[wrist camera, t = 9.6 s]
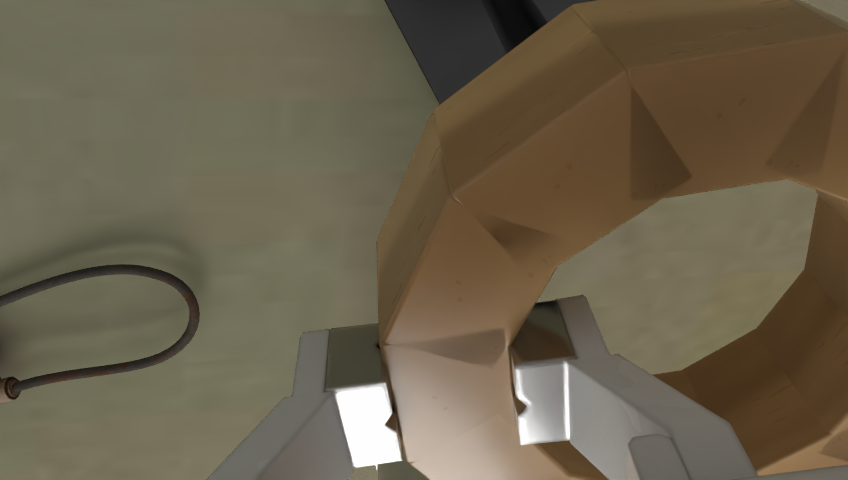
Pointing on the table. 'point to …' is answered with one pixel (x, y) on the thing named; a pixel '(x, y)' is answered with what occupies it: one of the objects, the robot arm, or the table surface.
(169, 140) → the table surface
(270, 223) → the table surface
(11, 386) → the telephone
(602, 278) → the table surface
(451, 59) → the stand
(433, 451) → the ring
